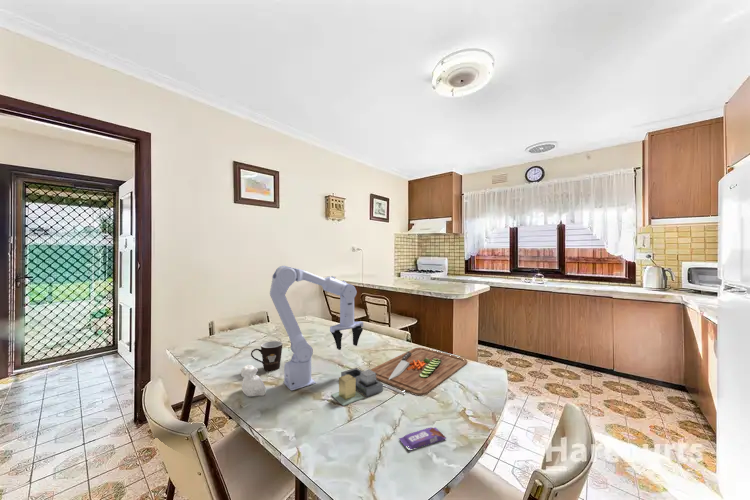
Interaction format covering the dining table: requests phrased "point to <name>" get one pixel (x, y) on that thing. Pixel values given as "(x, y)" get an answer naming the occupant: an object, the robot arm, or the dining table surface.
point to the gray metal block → (367, 378)
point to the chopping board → (418, 370)
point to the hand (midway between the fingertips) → (347, 347)
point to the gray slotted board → (361, 388)
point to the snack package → (422, 438)
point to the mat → (348, 401)
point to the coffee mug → (270, 355)
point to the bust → (252, 382)
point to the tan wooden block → (347, 387)
